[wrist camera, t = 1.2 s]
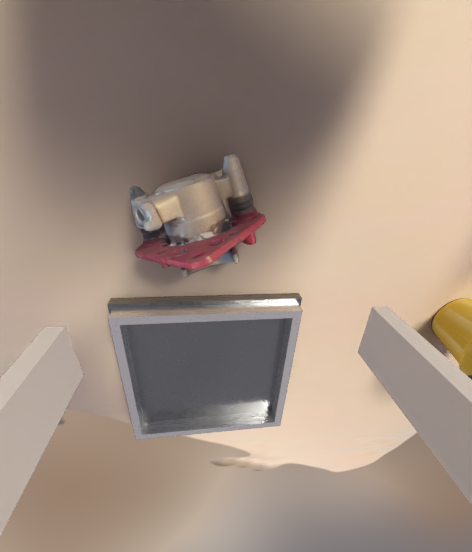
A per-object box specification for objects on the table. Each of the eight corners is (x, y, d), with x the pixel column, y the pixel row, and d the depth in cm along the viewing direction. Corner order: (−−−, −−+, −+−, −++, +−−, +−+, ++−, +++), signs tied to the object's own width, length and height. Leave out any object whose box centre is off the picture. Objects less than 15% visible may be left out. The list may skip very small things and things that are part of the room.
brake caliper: (169, 301, 27) (105, 290, 15) (147, 208, 28) (74, 131, 17) (271, 272, 26) (290, 237, 15) (243, 180, 28) (239, 83, 17)
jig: (111, 298, 28) (101, 313, 25) (298, 293, 31) (307, 306, 28) (137, 421, 38) (132, 442, 35) (277, 409, 41) (282, 427, 38)
